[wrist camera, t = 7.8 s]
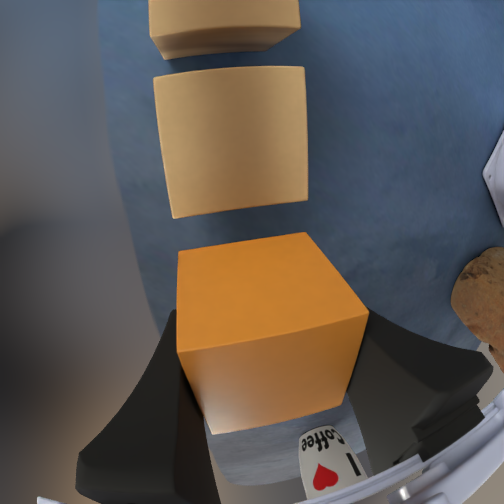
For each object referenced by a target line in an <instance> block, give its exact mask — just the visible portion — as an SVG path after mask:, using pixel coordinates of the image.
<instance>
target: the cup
mask: <svg viewBox="0 0 504 504" xmlns="http://www.w3.org/2000/svg"><path fill="white" fill-rule="evenodd" d="M299 461H300V469H301V477H302V481H303V485H304V488H305V492H306V496H307V500H309V499H313V498H316V497H319V496H322V495H325V494H329V493H331V492H334V491H337V490H340V489H343V488H345V487H348V486H351V485H353V484H356V483H358V482H361V481H363V480H366V479H368V477H367V476H366V473H365V472H364V470H363V468H362V466H361V464H360V462H359V460H358V458H357V456H356V455H355V454H354V452H353V451H352V449H351V448H350V446H349V445H348V444H347V442H346V441H345V439H344V438H343V437H342V436H341V435H340V434H339V433H338V432H337V431H336V430H335V428H334V427H333V426H322V427H318V428H315V429H313V430H310V431H308V432H306V433H305V434H303V435H302V436H301V437H300V438H299Z"/></svg>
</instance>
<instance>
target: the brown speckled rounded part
mask: <svg viewBox="0 0 504 504" xmlns="http://www.w3.org/2000/svg"><path fill="white" fill-rule="evenodd" d="M451 306H452V308H453V309H454V311H455V312H456V314H457V315H458V317H459V318H460V319H461V321H462V322H463V323H464V324H465V325H466V326H467V327H468V328H469V330H470V331H471V332H472V333H473V334H474V335H475V336H476V337H477V338H478V339H479V340H481V341H483V342H485V343H489V351H490V353H491V355H492V356H493V357H494V359H495V361H496V362H497V364H498V365H499V367H500V369H501V370H502V372H503V373H504V248H503V247H493V248H489V249H487V250H486V251H484V252H483V253H482V254H481V256H480V257H476V258H475V259H473V260H472V261H470V262H469V263H468V264H467V265H466V266H465V267H464V269H463V271H462V272H461V273H460V275H459V276H458V278H457V280H456V282H455V285H454V288H453V291H452V294H451Z"/></svg>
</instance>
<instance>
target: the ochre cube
mask: <svg viewBox="0 0 504 504" xmlns="http://www.w3.org/2000/svg"><path fill="white" fill-rule="evenodd" d="M368 316H369V311H368V309H367V308H366V307H365V305H364V304H363V303H362V302H361V300H360V299H359V298H358V296H357V295H356V294H355V292H354V291H353V290H352V289H351V287H350V286H349V285H348V284H347V282H346V281H345V280H344V278H343V277H342V276H341V275H340V273H339V272H338V271H337V270H336V268H335V267H334V266H333V265H332V263H331V262H330V261H329V260H328V259H327V257H326V256H325V255H324V254H323V252H322V251H321V250H320V249H319V248H318V246H317V245H316V244H315V243H314V242H313V240H312V239H311V238H310V237H309V236H308V234H307V233H306V232H301V233H295V234H288V235H281V236H274V237H268V238H261V239H254V240H248V241H241V242H235V243H228V244H222V245H215V246H209V247H202V248H196V249H190V250H184V251H179V253H178V276H177V354H178V356H179V359H180V361H181V364H182V367H183V369H184V372H185V374H186V377H187V379H188V381H189V384H190V386H191V389H192V391H193V393H194V396H195V398H196V400H197V403H198V405H199V407H200V409H201V412H202V414H203V416H204V418H205V420H206V422H207V425H208V427H209V429H210V431H211V433H212V434H221V433H227V432H234V431H240V430H245V429H251V428H256V427H261V426H266V425H270V424H275V423H279V422H283V421H287V420H291V419H295V418H299V417H303V416H306V415H310V414H313V413H317V412H320V411H324V410H327V409H330V408H333V407H336V406H339V405H341V404H342V401H343V398H344V395H345V392H346V390H347V387H348V384H349V381H350V378H351V375H352V372H353V369H354V365H355V362H356V359H357V356H358V352H359V349H360V345H361V342H362V338H363V335H364V331H365V327H366V324H367V320H368Z"/></svg>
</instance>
